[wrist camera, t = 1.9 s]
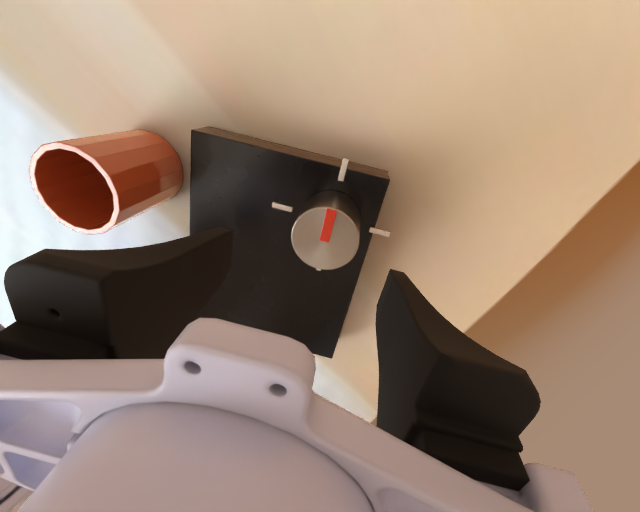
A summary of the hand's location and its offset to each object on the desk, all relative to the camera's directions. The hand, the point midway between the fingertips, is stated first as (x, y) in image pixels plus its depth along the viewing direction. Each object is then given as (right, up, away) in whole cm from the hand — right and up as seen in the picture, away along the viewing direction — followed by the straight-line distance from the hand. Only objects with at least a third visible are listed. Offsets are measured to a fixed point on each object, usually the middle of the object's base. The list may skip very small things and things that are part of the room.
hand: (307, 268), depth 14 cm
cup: (-13, +7, +10) cm, 18 cm away
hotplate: (-3, +1, +12) cm, 12 cm away
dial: (+1, +3, +7) cm, 8 cm away
